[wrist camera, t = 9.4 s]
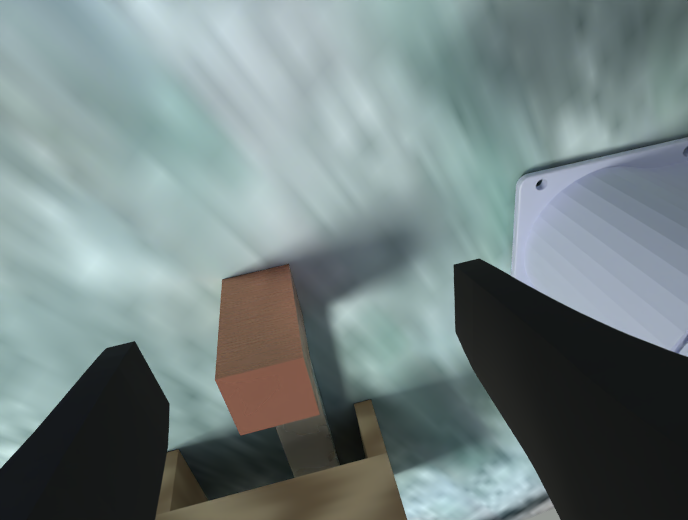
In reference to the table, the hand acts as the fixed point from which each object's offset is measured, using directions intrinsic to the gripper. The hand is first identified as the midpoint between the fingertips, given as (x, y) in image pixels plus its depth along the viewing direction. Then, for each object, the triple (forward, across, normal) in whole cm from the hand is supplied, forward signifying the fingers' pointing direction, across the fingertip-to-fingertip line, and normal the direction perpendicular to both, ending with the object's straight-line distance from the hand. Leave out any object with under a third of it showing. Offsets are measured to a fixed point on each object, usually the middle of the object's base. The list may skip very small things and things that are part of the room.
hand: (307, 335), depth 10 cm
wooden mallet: (+9, +2, +12) cm, 16 cm away
